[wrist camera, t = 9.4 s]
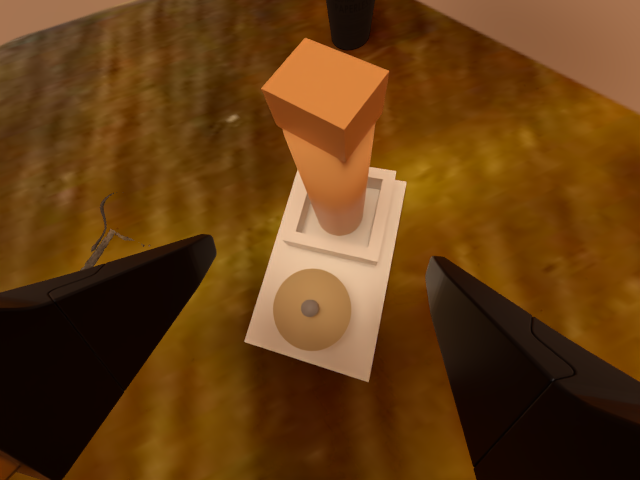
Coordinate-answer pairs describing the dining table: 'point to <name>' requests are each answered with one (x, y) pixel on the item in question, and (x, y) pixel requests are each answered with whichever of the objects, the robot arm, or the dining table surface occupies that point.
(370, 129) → the orange square-topped peg
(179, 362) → the dining table surface
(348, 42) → the drinking cup
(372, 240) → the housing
